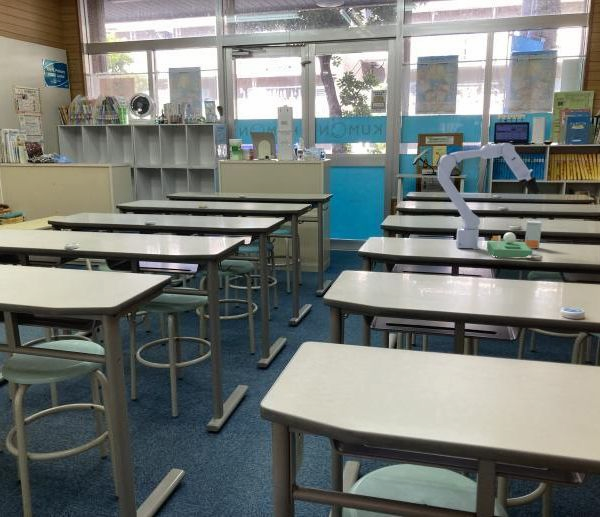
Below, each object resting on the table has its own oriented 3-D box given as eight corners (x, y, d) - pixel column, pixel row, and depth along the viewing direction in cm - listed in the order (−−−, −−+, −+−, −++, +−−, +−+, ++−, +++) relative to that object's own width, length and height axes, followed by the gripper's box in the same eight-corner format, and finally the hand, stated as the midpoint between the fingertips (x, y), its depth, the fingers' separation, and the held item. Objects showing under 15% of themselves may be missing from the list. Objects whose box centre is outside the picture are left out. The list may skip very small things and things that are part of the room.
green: (491, 257, 224) (493, 236, 222) (485, 248, 243) (486, 228, 242) (531, 259, 221) (533, 237, 219) (521, 249, 240) (523, 229, 239)
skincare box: (524, 248, 245) (526, 221, 242) (525, 246, 248) (527, 220, 246) (538, 249, 242) (541, 222, 239) (539, 247, 246) (541, 221, 243)
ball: (504, 244, 234) (504, 233, 233) (502, 242, 239) (503, 231, 238) (516, 244, 233) (517, 233, 232) (514, 242, 238) (514, 231, 237)
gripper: (529, 162, 227) (547, 188, 228) (522, 160, 241) (539, 184, 242) (514, 172, 229) (532, 197, 230) (508, 169, 243) (525, 193, 244)
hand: (535, 191), depth 236 cm, fingers open, 7 cm apart
